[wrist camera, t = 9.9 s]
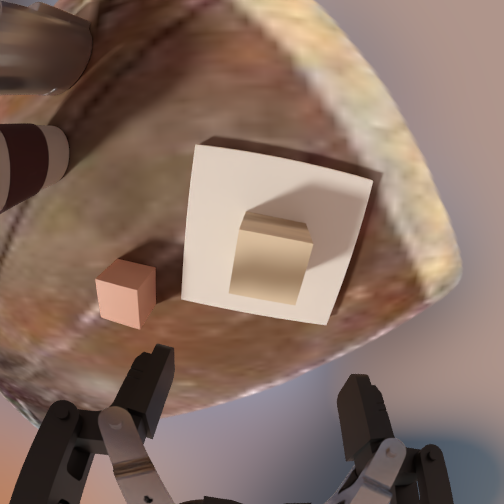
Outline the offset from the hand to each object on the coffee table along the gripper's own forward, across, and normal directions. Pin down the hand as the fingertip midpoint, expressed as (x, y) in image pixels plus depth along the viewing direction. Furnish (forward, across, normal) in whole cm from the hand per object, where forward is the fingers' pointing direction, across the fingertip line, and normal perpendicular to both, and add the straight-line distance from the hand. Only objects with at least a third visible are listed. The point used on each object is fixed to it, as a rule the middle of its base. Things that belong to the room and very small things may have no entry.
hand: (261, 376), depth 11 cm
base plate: (+17, 0, 0) cm, 17 cm away
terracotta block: (+17, +14, +8) cm, 23 cm away
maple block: (+16, 0, 0) cm, 16 cm away
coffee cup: (+17, +27, -6) cm, 32 cm away
